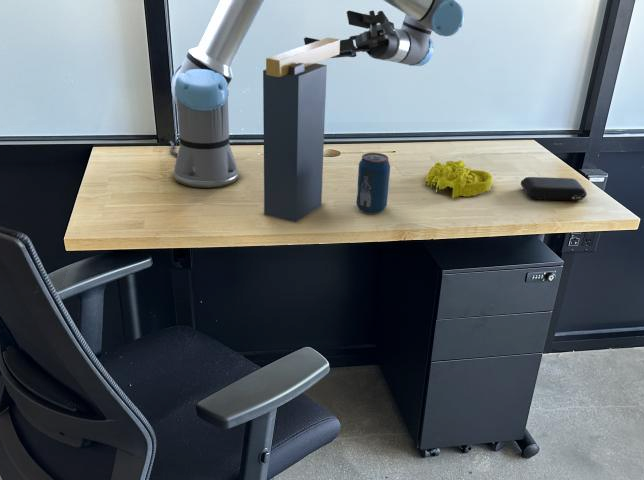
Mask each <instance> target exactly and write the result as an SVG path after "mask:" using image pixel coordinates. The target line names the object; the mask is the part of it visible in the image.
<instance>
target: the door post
mask: <svg viewBox="0 0 644 480" xmlns="http://www.w3.org/2000/svg"><path fill="white" fill-rule="evenodd" d="M327 69H328V67H327V64H322V63H315V64H313V65H310V66H307V67H305V68H304V64H303V63H298V64H295V65H292V66H290V67H289V74H287V75H284V76H281V77H275V76H270V75H266V68H265V69H263V70H262V100H263V101H262V103H263V104H262V105H263V106H262V107H263V109H262V110H263V111H262V112H263V113H262V114H263V117H262V118H263V119H262V120H263V122H262V123H263V215H264V216H268V217H271V218H276V219H281V220H285V221H289V222H293V223H298V222H299V221H300V220H302V219H303V218H304V217H306V216H307V215H309V214H310V213H311V212H314V211H315V210H316V209H318V208H319V207H320V206H322V200H323V199H322V197H323V196H322V195H323V175H324V173H323V170H324V149H325V148H324V145H325V124H326V123H325V119H326V96H327V95H326V94H327Z"/></svg>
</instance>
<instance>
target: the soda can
mask: <svg viewBox="0 0 644 480" xmlns="http://www.w3.org/2000/svg"><path fill="white" fill-rule="evenodd" d="M390 173H391V163H390V161H389V156H388V155H386V154H384V153H381V152H367V153H363V154H362V156H361V159H360V161H359V162H358V173H357V184H356V185H357V186H356V200H355V203H356V206H357V208H358V211H360V212H361V213H364V214H366V215H379V214H381V213H383V212H384V211H385V209H386V208H387V206H388V198H389V197H388V196H389V186H390V175H391V174H390Z"/></svg>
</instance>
